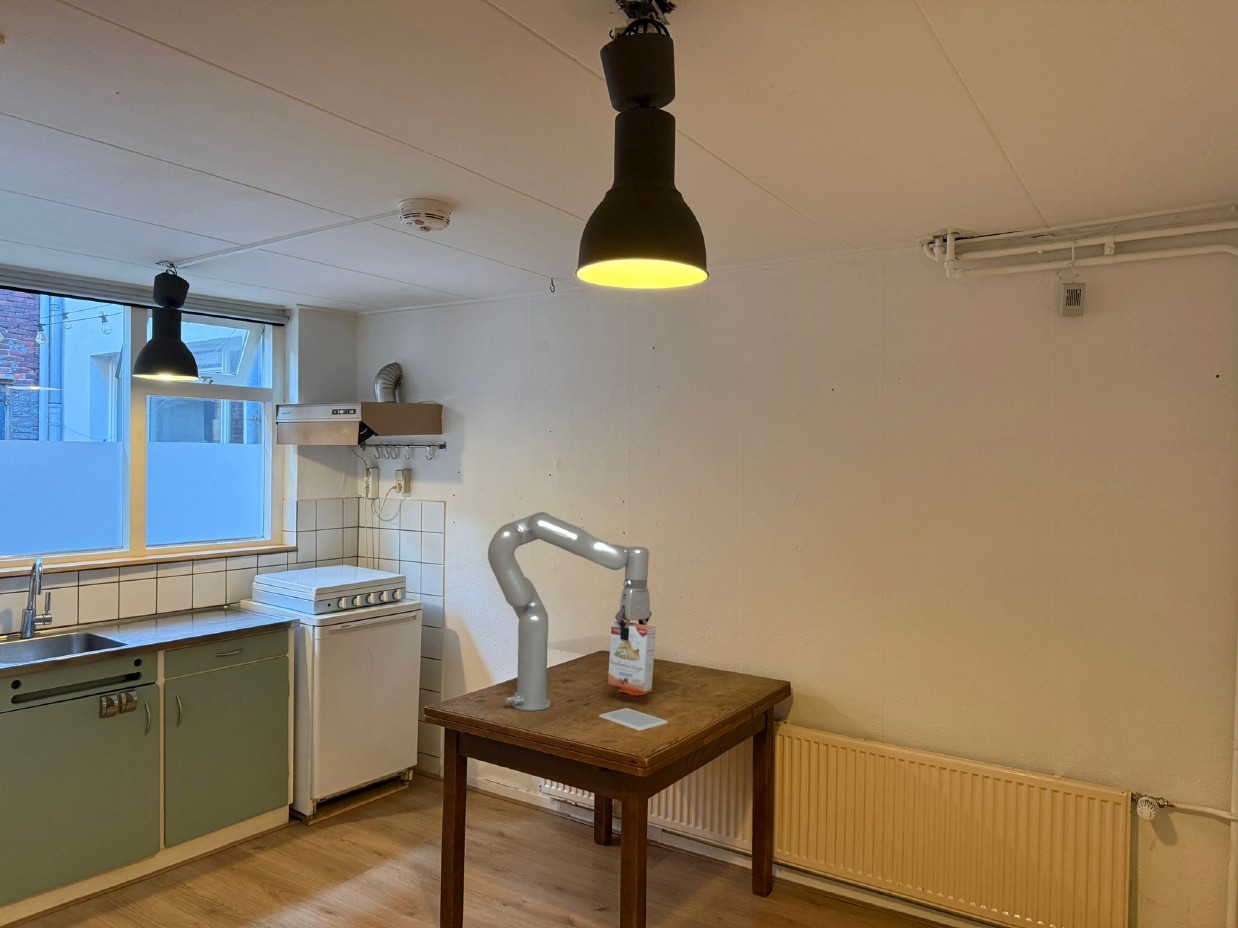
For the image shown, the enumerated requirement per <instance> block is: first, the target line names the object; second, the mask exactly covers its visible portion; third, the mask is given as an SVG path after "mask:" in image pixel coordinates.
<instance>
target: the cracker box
mask: <svg viewBox="0 0 1238 928" xmlns="http://www.w3.org/2000/svg"><path fill="white" fill-rule="evenodd" d="M625 623H626V621H625ZM627 628H629V638H628V640H623V639H621V638H620V635H621V627H620V626H619V623H618V621H617V620H616V621H613V622H611V629H610V646H609V662H608V663H609V664H608V675H607V677H608V678H607V685H609V686H615V687H618V688H621V689H622V688H623V689H625V690H626V689H627V690H632V691H636V692H640V693H645V692H647V691H648V692H649V691H650V690H652V689H653V677H654V676H653V675H654V674H653V673H654V661H655V644H656V643H655V642H656V629H657V628H656V626H654V625H653V626H651V625H648V624H647V625H641V624H639V623H635V622H631V621H630V622H629V625H628V627H627Z"/></svg>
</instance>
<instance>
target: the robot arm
mask: <svg viewBox="0 0 1238 928" xmlns="http://www.w3.org/2000/svg"><path fill="white" fill-rule="evenodd" d="M538 540H540V541H543V542H545V543H548V544H551V545H553V546H555V547H557V548H559V549H562V550H564V551H567V552H569V553H571V554H573V555H575V556H579V557H581V558H584V559H586V560H589V561H590V562H593V563H595V564H597V565H599V566H602V567H604V568H607V569H609V570H612V571H618V570H621V569H623V568H625V569H624V581H623V583H622V585H623V586H624V587H623V589H622V592H621V598H620V603H619V610H618V612H617V613H616V614H615V615H614V617H615V618H614V619H616V622H617V621H618V623H619V626H620V627H621V635H620V638H621V639H623V640H628V638H629V628H627V627H628V625H629V622H631V621H637V624H641V625H647V626H648V624H647V623H648V622H649V621H650V618H651V616H652V615H653V612H652V611H651V609H650V608H651V603H650V601H651V600H650V599H651V598H650V591H649V588H648V576H649V575H648V574H649V573H648V572H649V559H650V552H649V549H648V548H647V547H643V546H624V545H619V544H612V543H609V542H607V541H604V540H601V539H599V538H597V537H596V536H593V535H592V534H591V533H588V532H587V530H584V529H582V528H580V527H579V526H577V525H574V524H571V523H570V522H569V523H568V522H566V521H564V520H561V519H559V518H557V517H554V516H552V515H551V514H549V513H547V512H544V511H540V512H536V513H534V514H531V515H529V516H525V517H523V518H521V519H517V520H514V521H511V522H509V523H506V524H504V525H502V526H501V527H500V528H498V529H497V531H496V532H495V534H494V535H493V537H492V538H491V540H490V542H489V545H488V548H487V558H488V563H489V565H490V568H491V570H492V572H493V574H494V577H495V579H496V581H497V583H498V585H499V587H500V590H501V591H502V593H503V597H504V598H505V601H506V603H508V605H509V606H511V607H512V608H513V610H514V613H515V615H516V616H517V618H518V625H517V627H518V628H517V631H518V632H517V633H518V634H517V635H518V636H517V637H518V638H517V645H518V646H517V647H518V648H517V680H516V681H517V685H516V687H517V688H516V689H517V691H514V695H512V696H508V697H505V698H504V703H505V704H507V705H508V704H511V706H512V707H513V708H514V709H516V710H521V711H528V712H529V711H541V710H546V709H549V708H550V707H551V705H552V703H551V700H549V699H548V698H547V687H548V686H547V685H548V683H547V681H548V679H547V678H548V645H549V644H548V641H549V640H548V638H549V637H548V636H549V615H548V611H547V610H546V609H547V608H545V606H544V604H543V601H542V599H541V597H540V596H539V593H538V592H537V590H536V588H535V586H534V584H533V582H532V581H531V580H530V579H529V578H528V577H526V576H525V575H524V573H523V571H522V569H521V567H520V564H519V562H518V560H517V559H516V557H515V551H516V550H517V549H518V547H520V546H521V547H522V546H523V545H526V544H528V543H531V542H533V541H538ZM625 622H626V623H625Z"/></svg>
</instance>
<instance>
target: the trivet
mask: <svg viewBox="0 0 1238 928" xmlns="http://www.w3.org/2000/svg"><path fill="white" fill-rule="evenodd" d="M599 718H601V719H605V720H607V721H611V722H613V723H617V724H619V725H622V726H625V727H627V728H631V729H634V730H636V731H639V732H640V731H644V730H647V729H648V730H649V729H651V728H655V727H658V726H661V725H666V724H667V723H668V720H666V719H662V718H659V717H656V716H653V715H649V714H648V713H643V712H640V711H636V710H634V709H632V708H628V707H627V708H626V707H624V708H621V709H618V710H614V711H609V712H606V713H602V714H599Z"/></svg>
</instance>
